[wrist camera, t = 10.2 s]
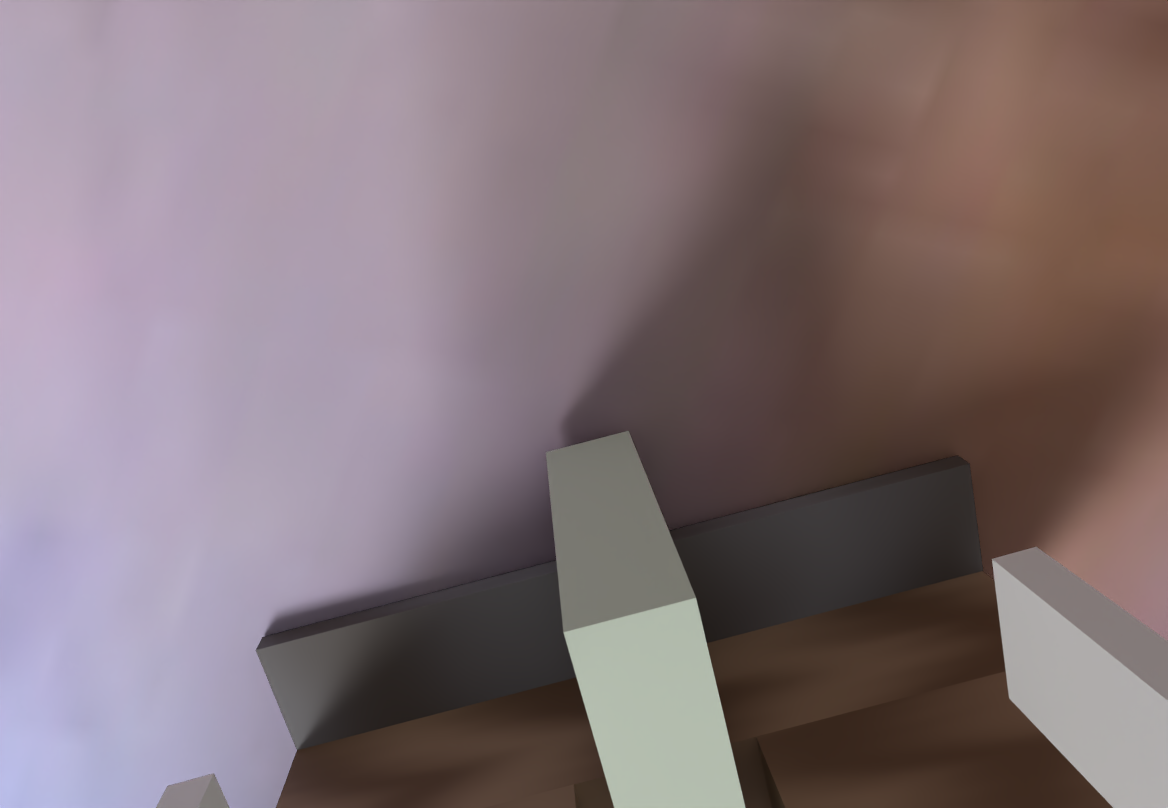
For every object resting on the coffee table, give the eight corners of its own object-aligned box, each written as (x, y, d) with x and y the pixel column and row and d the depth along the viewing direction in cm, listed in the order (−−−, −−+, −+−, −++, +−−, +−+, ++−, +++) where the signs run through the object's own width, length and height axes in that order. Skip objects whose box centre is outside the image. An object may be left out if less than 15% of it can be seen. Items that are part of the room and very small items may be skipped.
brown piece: (363, 883, 24) (283, 1262, 16) (262, 637, 22) (108, 931, 14) (991, 718, 24) (1238, 1010, 16) (957, 455, 22) (1224, 638, 14)
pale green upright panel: (741, 890, 24) (845, 1228, 17) (672, 908, 24) (743, 1254, 17) (628, 430, 20) (695, 597, 13) (545, 452, 20) (563, 632, 13)
